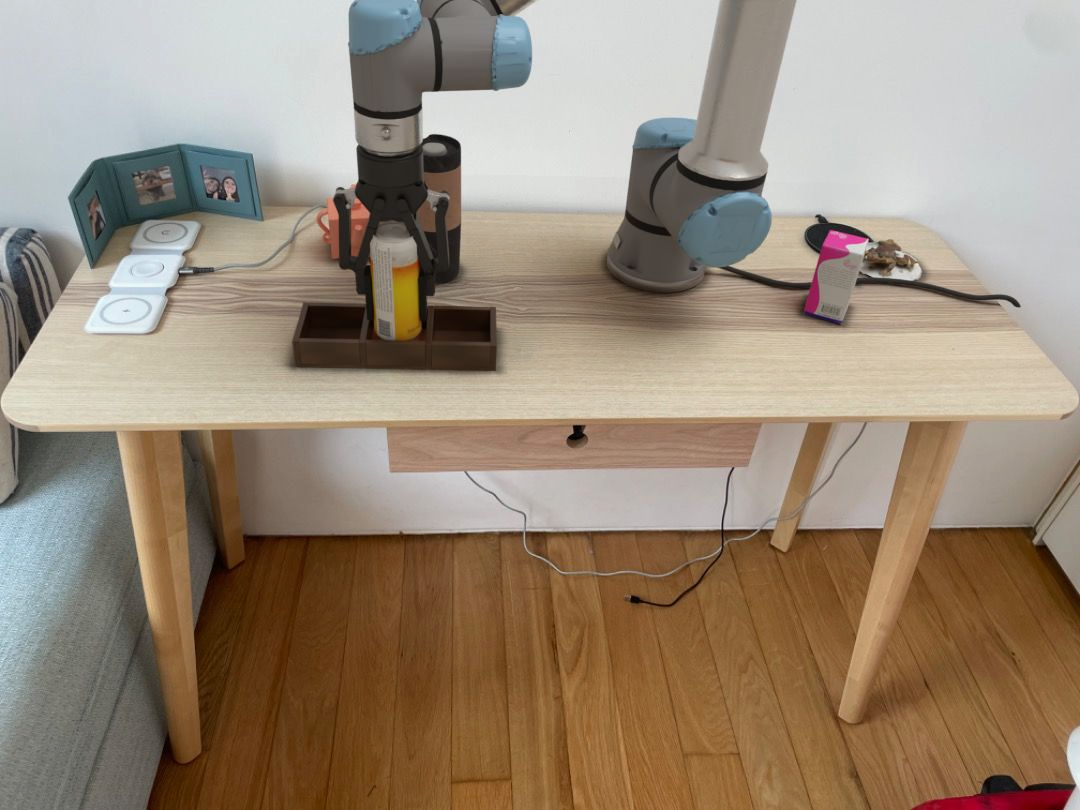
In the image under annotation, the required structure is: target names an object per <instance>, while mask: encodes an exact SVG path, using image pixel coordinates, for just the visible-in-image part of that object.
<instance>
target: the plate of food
mask: <svg viewBox="0 0 1080 810" xmlns="http://www.w3.org/2000/svg"><path fill="white" fill-rule="evenodd" d="M859 273H861V274H862V275H868V276H869V277H876V278H893V279H903V280H910V281H919V279H921V277H922V273H923V271H922V268H921V267H920V264H919V262H918V260H917V259H916V257H915V256H913V255H912V254H911V253H909V252H907V251H906V252H903V251H902V247H901V246H900V245H899V244H898V243H897V242H896V241H894V239H893V238H889V239H880V240H879V241H872V242H868V244H867V247H866V251H865V254H864V257H863V261H862V264H861V267H860V270H859Z"/></svg>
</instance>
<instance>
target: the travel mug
mask: <svg viewBox="0 0 1080 810" xmlns="http://www.w3.org/2000/svg"><path fill="white" fill-rule="evenodd" d="M421 145H422V147H423V170H424V181H425V183H426V185H427V187H428V190H432V191H435V192H438V193H440V192H441V191H443V190H445V191H448V193H449V206H448V209H447V213H446V221H447V234H448V246H449V270H448V271H447V272H438V273H436V275H435V285H436V284H444V283H449V282H451V281H453V280H455V279H456V278H457V277H458V276H459V274H460V261H461V238H462V236H461V235H462V144H461V143H460V141H459V140H458V139H456V138H455V137H452V136H449V135H447V134H446V135H445V134H440V133H439V134H438V133H430V134H429V135H428V136H426V137H423V141H422V143H421ZM417 212H418V216H419V220H420V223H421V226H422V228H423V231H424V234H425V236H426V239H427V242H428V244H429V247H430V250H431V252H432V255H433V258H434V259H436V258H438V250H437V239H436V227H435V212H434V211H432V210H431V208H430V203H429V202H428V201H427V200H426V201H425V202H424V203H423V204H422V206H421V207H420V208H419V209H418V211H417ZM420 266H422V265H421V262H420Z"/></svg>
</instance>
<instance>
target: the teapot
mask: <svg viewBox="0 0 1080 810" xmlns="http://www.w3.org/2000/svg"><path fill="white" fill-rule="evenodd" d="M354 187H356V183H355V184H354V183H352V184H351V185H350V186H349V188H354ZM333 198H334V197H327V198H326V205H327V206H326V207H327V208H324V209H321V211H319V212H318V213H317V215H316V223H317V225H318V227H319V228H320V229H321V230H322V231H323V234H322V241H323V242H324V243H325V244H330V251H331V259H334V260H335V259H339V214H338V212H337V210H336V207H335V205H334V202H333ZM325 215H326V216H327V219H328V220H327V221H328V227H327V226H326V225H325V223H323V221H322V217H323V216H325ZM369 215H370V212H369V211H368V210H367V209H366V208H365V207H364V205H363V204H362V203H361V202H360V201H359V199H358V198H356V199H355V202H354V206H353V207H352V208H351V255H352V256H355V257H357V256H358V253H359V249H360V246H361V242H362V239H363V236H364V232H365V229H366V225H367V222H368V219H369ZM392 221H393V220H392ZM379 223H381V222H379ZM368 258H370V254H369V257H368Z"/></svg>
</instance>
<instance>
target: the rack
mask: <svg viewBox="0 0 1080 810" xmlns="http://www.w3.org/2000/svg"><path fill="white" fill-rule="evenodd" d="M295 326H296V327H295V330H294V334H293V337H292V341H291V344H292V351H293V358H294V366H295V368H332V369H333V368H336V369H338V368H339V369H384V370H386V369H387V370H388V369H389V370H432V371H433V370H437V371H439V370H442V371H485V372H486V371H491V372H492V371H495V372H496V371H497V352H498V351H497V349H498V338H497V335H498V333H497V332H498V331H497V306H477V305H476V306H471V305H469V306H468V305H431V304H430V305H428V304H427V316H426V321H421V331H420V333H419V334H418V335H417V336H416V338H415V339H413V340H412V341H402V340H382V339H381V338H380V336H378V335H377V334H376V332H375V329H374V317H373V320H367V312H366V303H357V302H356V303H355V302H353V303H352V302H348V303H347V302H313V301H312V302H307V301H306V302H305V301H303V302H302V306H301V309H300V312H299V315H298V320H297V323H296V325H295Z"/></svg>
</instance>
